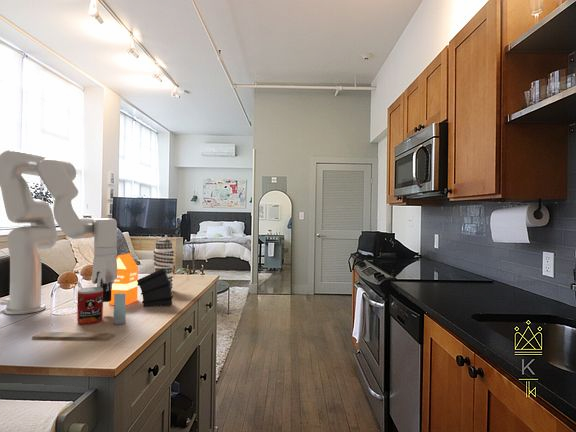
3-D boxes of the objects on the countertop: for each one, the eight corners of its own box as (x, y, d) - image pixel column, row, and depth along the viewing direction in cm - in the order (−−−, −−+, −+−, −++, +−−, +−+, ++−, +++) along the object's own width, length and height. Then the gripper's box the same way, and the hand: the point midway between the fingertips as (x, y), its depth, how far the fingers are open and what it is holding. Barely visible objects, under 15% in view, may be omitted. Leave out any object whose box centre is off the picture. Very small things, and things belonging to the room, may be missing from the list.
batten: (32, 339, 105) (32, 336, 105) (41, 334, 109) (41, 331, 109) (107, 340, 105) (107, 337, 105) (114, 335, 109) (114, 333, 109)
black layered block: (179, 302, 145) (163, 268, 143) (148, 317, 143) (131, 283, 141) (180, 299, 148) (164, 267, 147) (149, 314, 146) (133, 281, 145)
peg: (111, 325, 119) (112, 295, 119) (116, 321, 123) (117, 292, 122) (122, 325, 119) (122, 295, 119) (126, 322, 123) (127, 292, 122)
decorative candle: (169, 293, 167) (170, 240, 167) (149, 293, 167) (150, 239, 167) (175, 289, 176) (176, 238, 176) (157, 289, 176) (158, 238, 176)
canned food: (76, 326, 117) (76, 292, 117) (77, 319, 125) (78, 288, 125) (102, 323, 121) (103, 290, 121) (102, 317, 128) (103, 286, 128)
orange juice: (137, 300, 154) (138, 253, 154) (126, 305, 145) (127, 255, 145) (120, 299, 155) (121, 253, 154) (108, 304, 146) (109, 255, 146)
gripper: (105, 249, 140) (106, 296, 140) (84, 253, 125) (84, 306, 125) (125, 249, 140) (125, 296, 140) (105, 253, 125) (105, 306, 125)
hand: (106, 301), depth 132 cm, fingers closed
